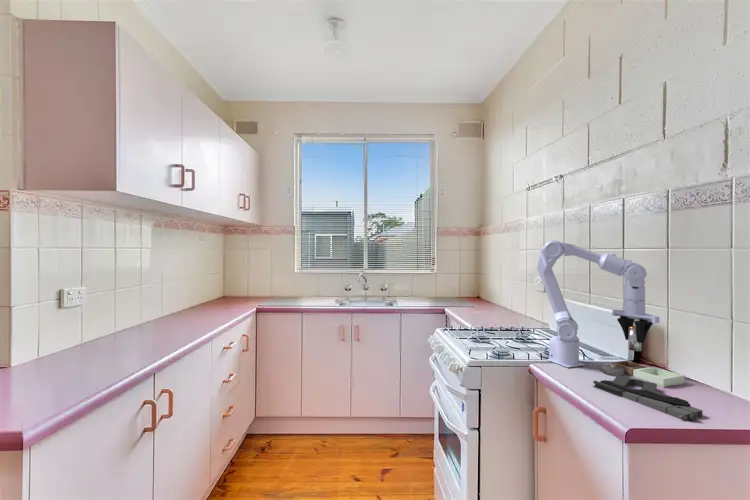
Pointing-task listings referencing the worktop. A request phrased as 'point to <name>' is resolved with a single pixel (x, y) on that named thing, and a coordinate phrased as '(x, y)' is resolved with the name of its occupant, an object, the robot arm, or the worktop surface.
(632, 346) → the glass jar
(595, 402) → the worktop surface
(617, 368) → the brown open box
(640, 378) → the tray
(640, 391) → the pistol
